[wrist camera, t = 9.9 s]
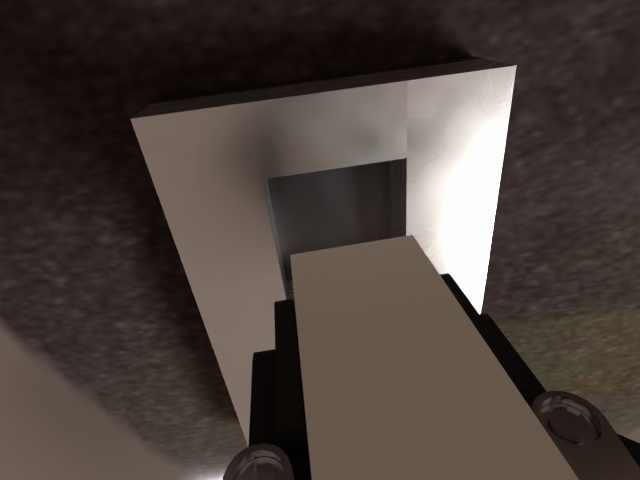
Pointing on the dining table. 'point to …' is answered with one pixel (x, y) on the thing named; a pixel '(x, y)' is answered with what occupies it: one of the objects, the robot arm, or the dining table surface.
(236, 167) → the socket board
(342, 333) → the plug
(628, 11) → the dining table surface
